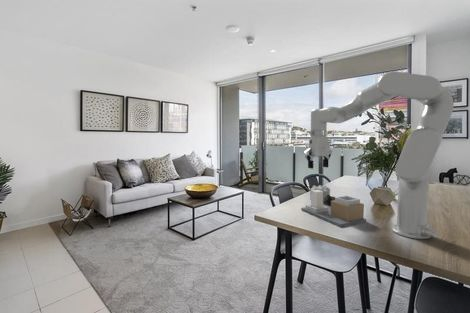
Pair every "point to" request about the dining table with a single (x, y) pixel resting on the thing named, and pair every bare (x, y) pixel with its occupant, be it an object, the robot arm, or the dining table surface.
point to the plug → (317, 199)
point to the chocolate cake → (328, 200)
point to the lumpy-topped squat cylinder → (321, 188)
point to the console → (340, 211)
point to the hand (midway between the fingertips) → (318, 167)
